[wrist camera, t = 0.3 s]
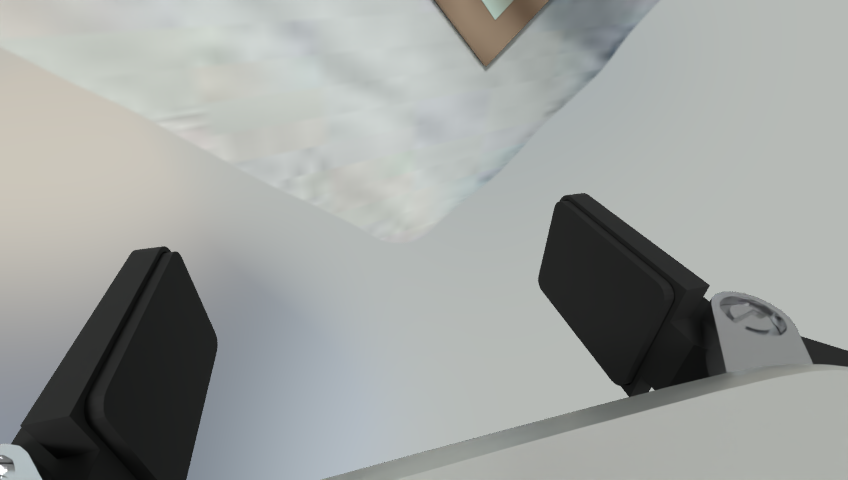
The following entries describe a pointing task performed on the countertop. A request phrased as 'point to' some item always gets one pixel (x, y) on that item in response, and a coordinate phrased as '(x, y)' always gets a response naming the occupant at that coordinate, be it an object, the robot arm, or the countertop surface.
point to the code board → (489, 22)
